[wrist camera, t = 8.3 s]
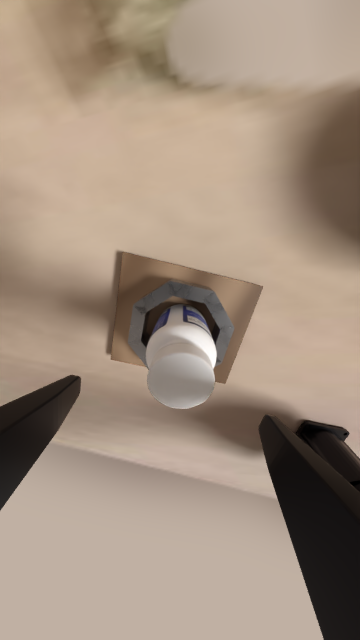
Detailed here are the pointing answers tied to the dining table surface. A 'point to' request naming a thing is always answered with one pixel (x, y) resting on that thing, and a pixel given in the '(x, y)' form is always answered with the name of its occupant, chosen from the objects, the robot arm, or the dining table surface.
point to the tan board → (150, 274)
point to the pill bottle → (181, 358)
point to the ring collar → (187, 291)
